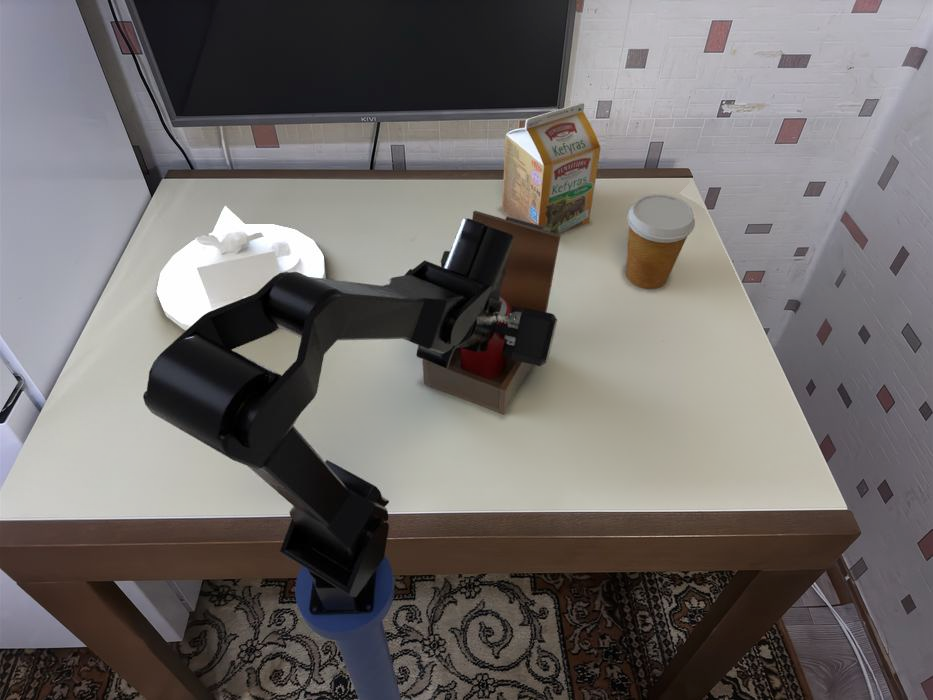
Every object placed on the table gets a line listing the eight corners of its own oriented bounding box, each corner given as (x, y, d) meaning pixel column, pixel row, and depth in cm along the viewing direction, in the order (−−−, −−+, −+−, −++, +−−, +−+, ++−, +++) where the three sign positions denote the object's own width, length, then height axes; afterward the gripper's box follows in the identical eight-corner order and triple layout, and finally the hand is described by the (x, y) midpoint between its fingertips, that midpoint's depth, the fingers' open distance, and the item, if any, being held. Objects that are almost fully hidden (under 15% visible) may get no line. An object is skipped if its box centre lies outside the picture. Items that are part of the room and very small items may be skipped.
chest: (503, 414, 86) (505, 390, 82) (423, 384, 89) (422, 359, 86) (541, 350, 93) (543, 325, 90) (466, 323, 97) (466, 299, 93)
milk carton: (536, 242, 110) (546, 135, 96) (502, 209, 116) (507, 104, 102) (588, 222, 113) (605, 117, 100) (552, 191, 120) (563, 88, 106)
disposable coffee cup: (691, 280, 103) (711, 216, 94) (646, 305, 100) (663, 240, 91) (646, 248, 109) (662, 184, 100) (602, 270, 105) (614, 206, 96)
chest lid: (559, 237, 81) (570, 222, 85) (472, 212, 85) (487, 199, 88) (543, 324, 89) (554, 308, 93) (465, 298, 93) (478, 284, 96)
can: (508, 379, 89) (512, 324, 81) (461, 380, 89) (460, 325, 81) (505, 345, 93) (508, 289, 85) (460, 346, 93) (459, 290, 85)
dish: (342, 312, 99) (330, 251, 90) (163, 355, 93) (134, 294, 85) (309, 218, 114) (297, 159, 106) (155, 249, 109) (130, 190, 100)
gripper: (562, 265, 70) (572, 279, 85) (395, 230, 74) (434, 250, 89) (537, 369, 70) (552, 365, 86) (373, 330, 74) (415, 332, 90)
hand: (487, 325), depth 87 cm, fingers closed on can, 6 cm apart
